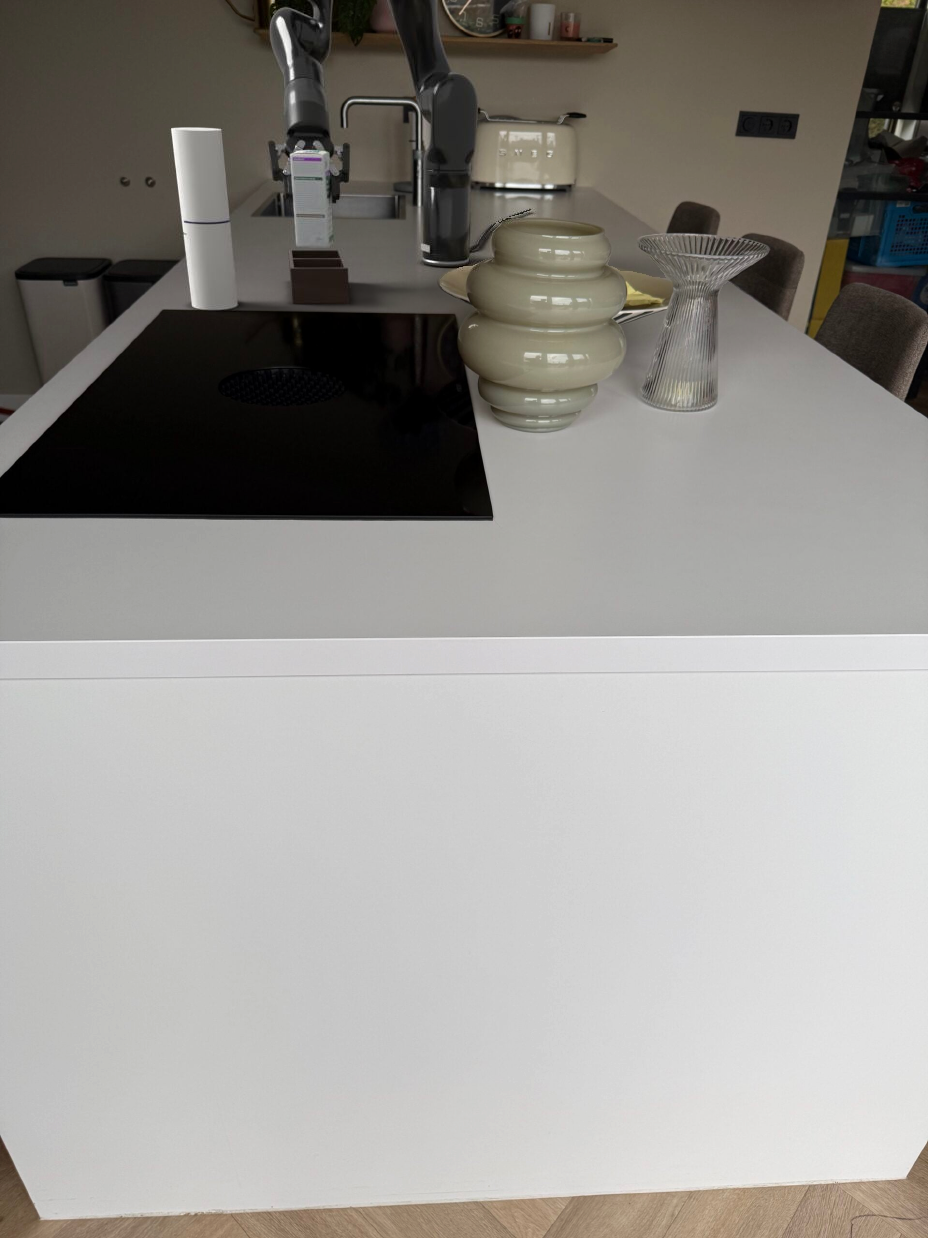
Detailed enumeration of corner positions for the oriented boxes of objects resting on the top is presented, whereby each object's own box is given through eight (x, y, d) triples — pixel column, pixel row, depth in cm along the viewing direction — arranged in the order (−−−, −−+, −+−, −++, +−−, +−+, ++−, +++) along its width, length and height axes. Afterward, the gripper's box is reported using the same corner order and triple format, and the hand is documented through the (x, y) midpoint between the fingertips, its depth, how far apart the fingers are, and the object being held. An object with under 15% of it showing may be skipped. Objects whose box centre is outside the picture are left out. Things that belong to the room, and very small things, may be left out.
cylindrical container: (211, 311, 143) (192, 130, 130) (182, 304, 146) (160, 127, 134) (247, 304, 148) (231, 129, 135) (217, 298, 151) (200, 126, 139)
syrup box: (329, 248, 156) (326, 152, 148) (294, 246, 156) (289, 151, 148) (334, 242, 160) (330, 150, 153) (300, 241, 160) (295, 148, 153)
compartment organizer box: (290, 282, 165) (288, 249, 162) (341, 281, 166) (340, 249, 163) (292, 303, 150) (290, 268, 147) (349, 303, 151) (347, 267, 148)
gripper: (262, 96, 152) (268, 183, 148) (349, 99, 154) (357, 184, 151) (265, 130, 159) (270, 213, 155) (348, 133, 162) (355, 215, 158)
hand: (312, 199), depth 153 cm, fingers closed on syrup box, 6 cm apart
